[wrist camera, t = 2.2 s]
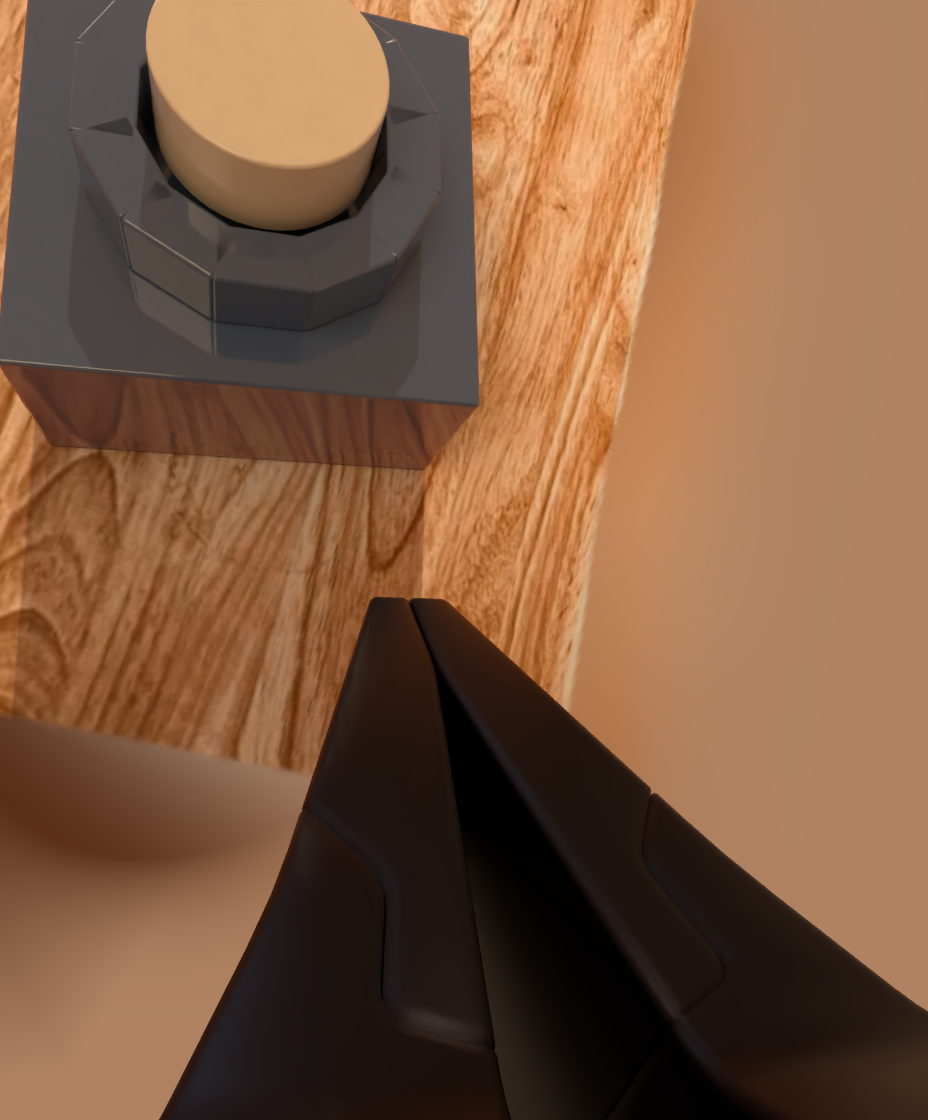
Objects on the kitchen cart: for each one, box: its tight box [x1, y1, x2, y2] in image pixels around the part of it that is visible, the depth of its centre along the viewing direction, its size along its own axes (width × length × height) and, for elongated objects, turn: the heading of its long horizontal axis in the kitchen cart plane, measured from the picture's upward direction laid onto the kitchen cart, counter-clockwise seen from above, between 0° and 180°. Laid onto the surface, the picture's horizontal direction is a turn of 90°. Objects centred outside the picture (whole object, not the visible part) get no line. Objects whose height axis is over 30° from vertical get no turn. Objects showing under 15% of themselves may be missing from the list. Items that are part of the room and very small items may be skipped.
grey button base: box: [0, 0, 479, 469], centre depth 19 cm, size 10×10×7 cm
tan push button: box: [145, 0, 390, 231], centre depth 15 cm, size 4×4×2 cm
